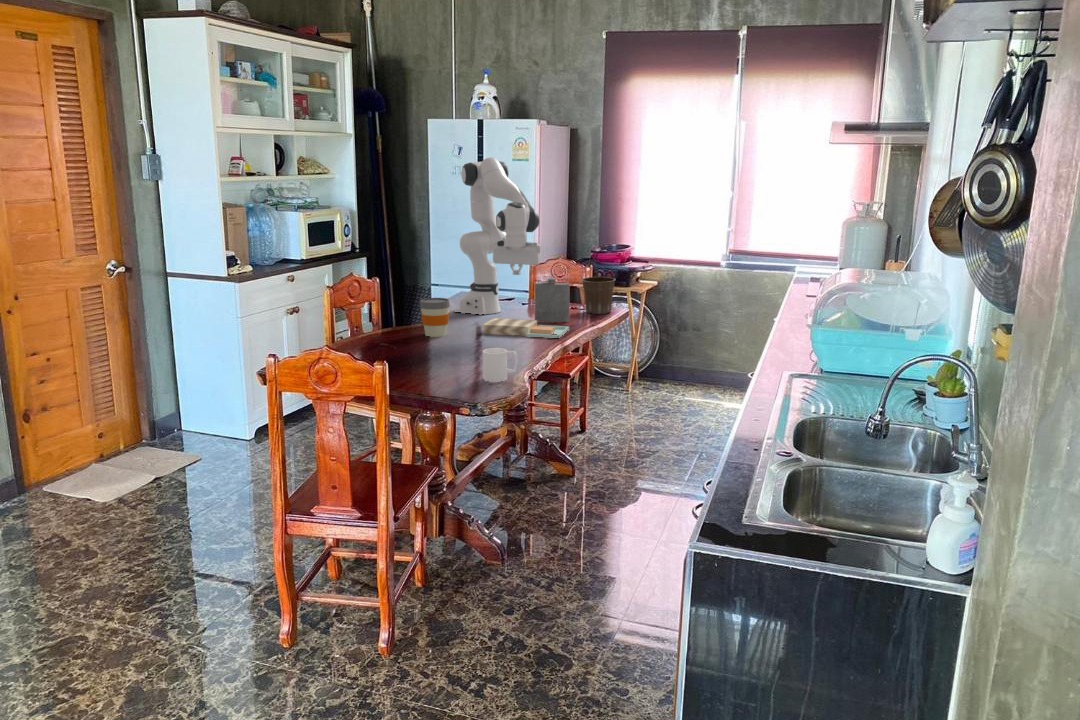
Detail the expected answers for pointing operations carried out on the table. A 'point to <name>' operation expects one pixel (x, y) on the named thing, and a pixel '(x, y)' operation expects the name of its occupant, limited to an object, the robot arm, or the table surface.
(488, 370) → the cup
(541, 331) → the salmon pink block
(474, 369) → the table surface
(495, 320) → the beige flat block
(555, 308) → the hip flask
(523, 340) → the table surface
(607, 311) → the plant pot
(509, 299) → the table surface
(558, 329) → the tray
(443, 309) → the reusable coffee cup
